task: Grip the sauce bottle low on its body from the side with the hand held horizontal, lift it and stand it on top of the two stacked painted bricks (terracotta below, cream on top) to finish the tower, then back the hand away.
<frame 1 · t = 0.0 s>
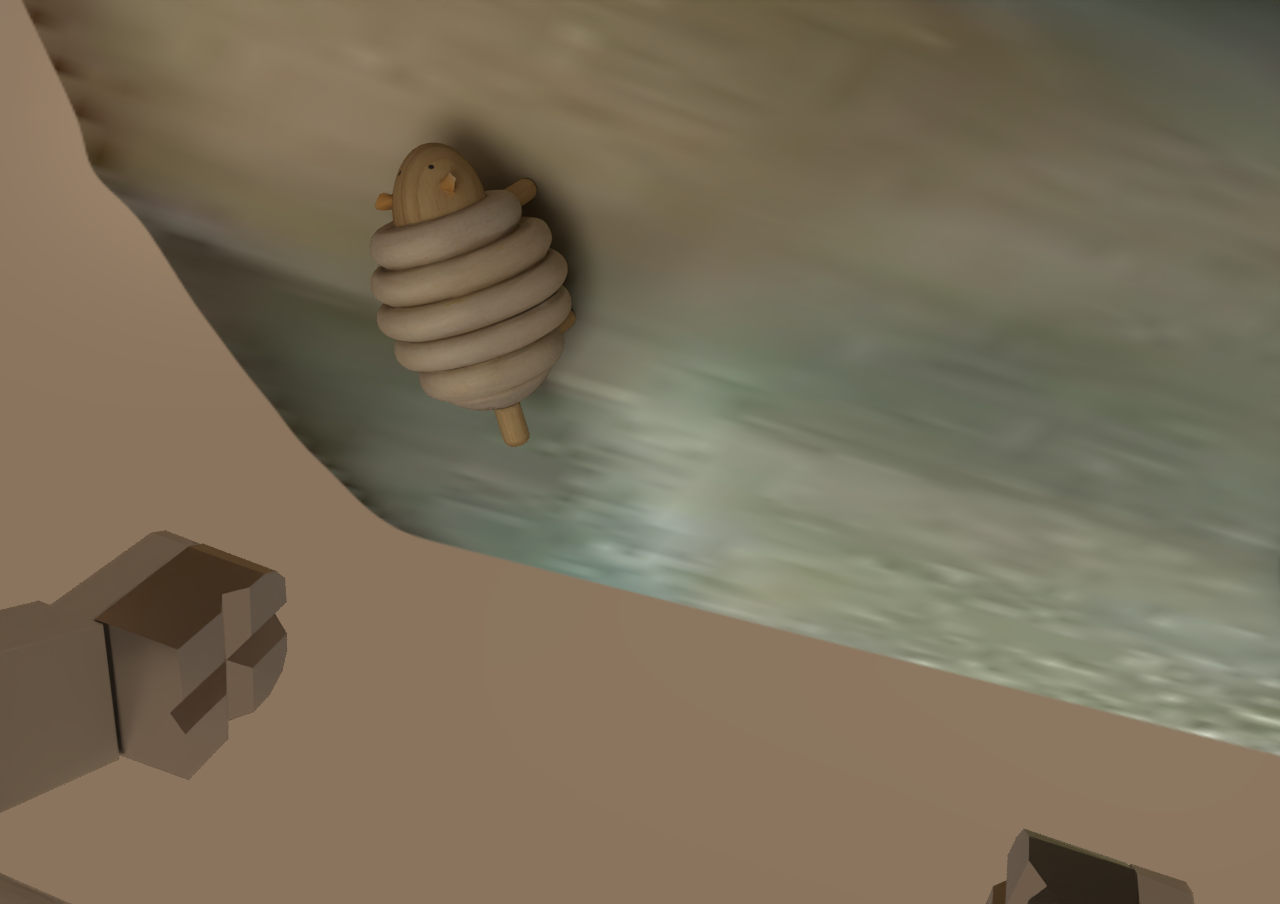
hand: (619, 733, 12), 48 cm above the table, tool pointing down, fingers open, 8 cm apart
toy sheep: (515, 266, 64), on the table
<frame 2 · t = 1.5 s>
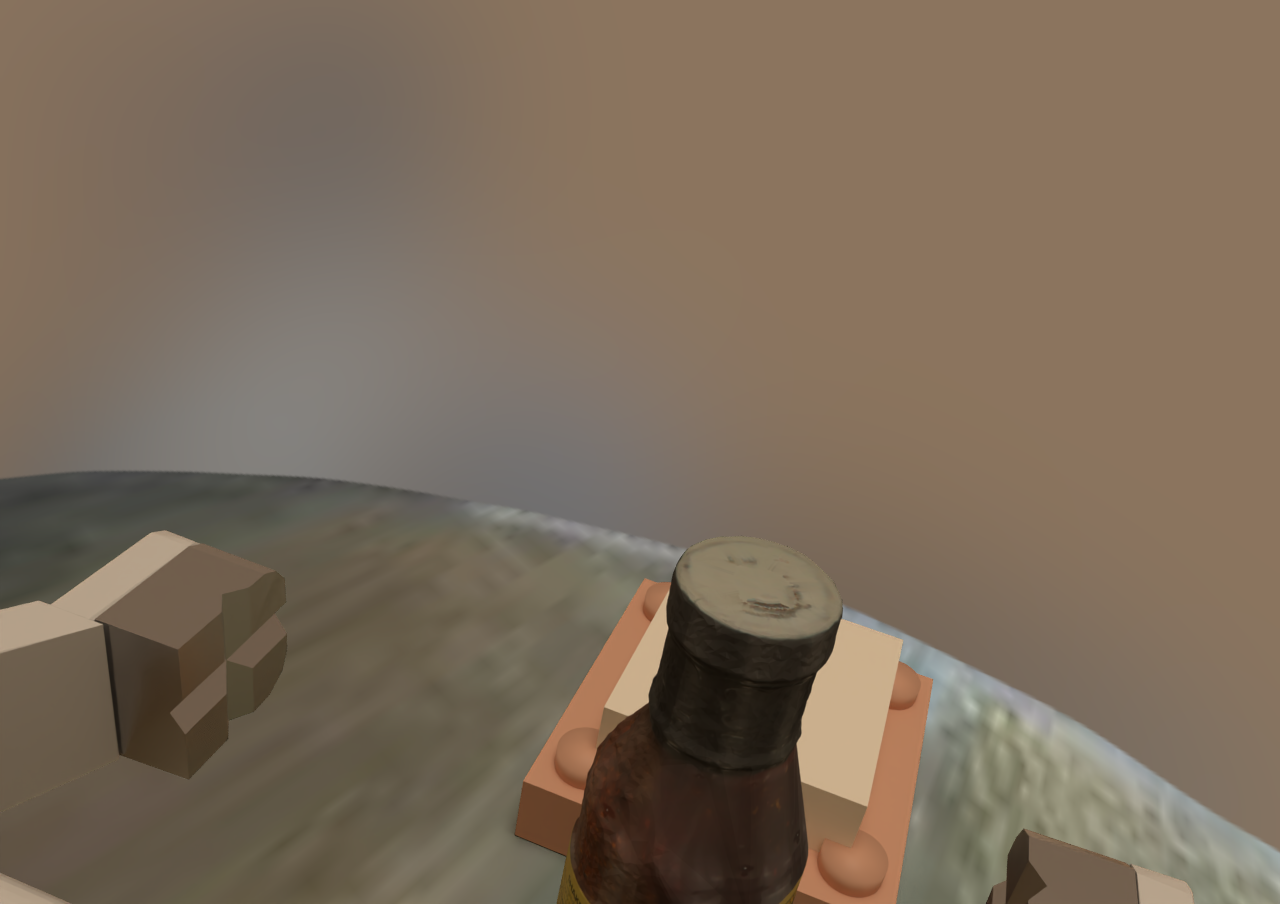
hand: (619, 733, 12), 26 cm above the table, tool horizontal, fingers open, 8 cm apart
brick stack: (733, 775, 47), on the table
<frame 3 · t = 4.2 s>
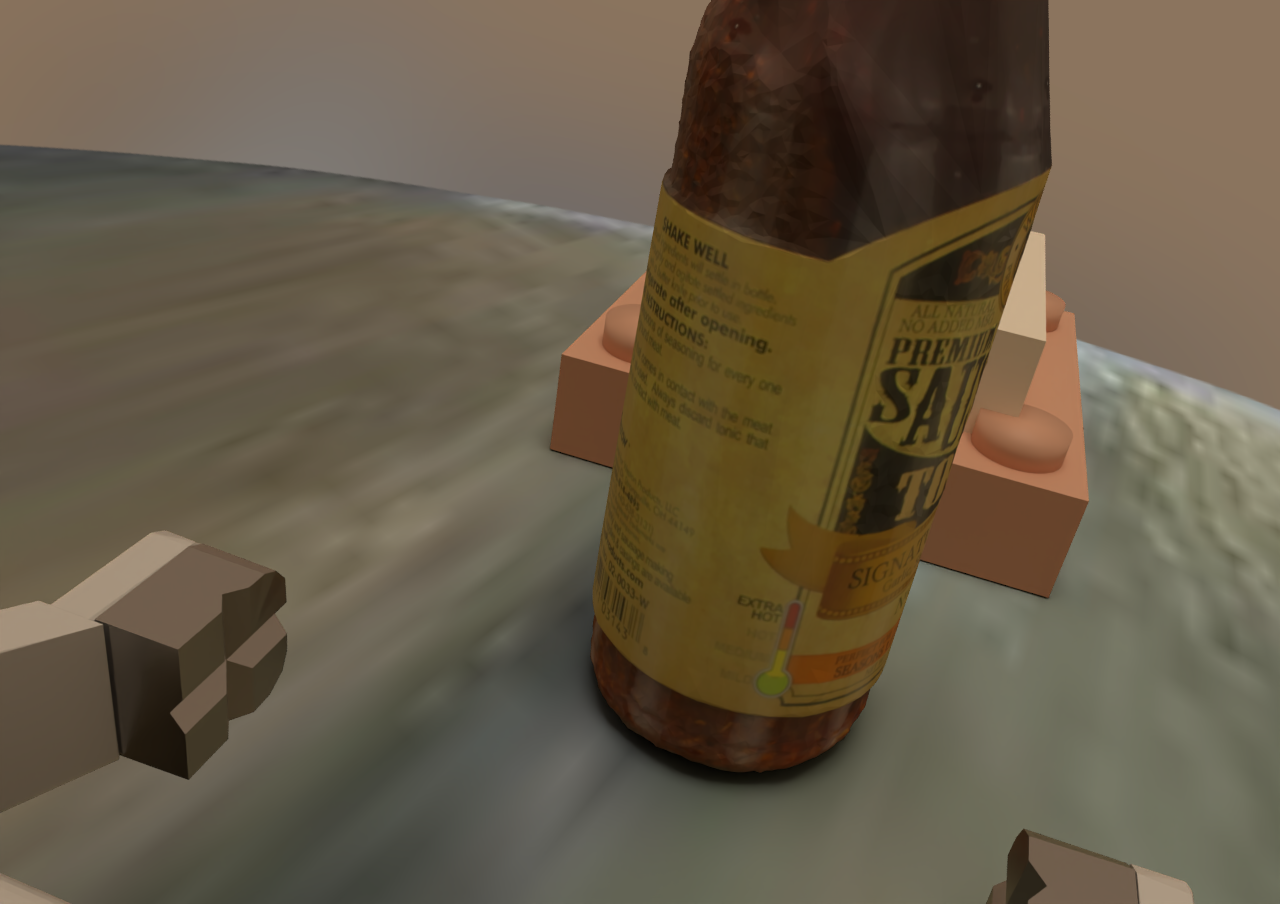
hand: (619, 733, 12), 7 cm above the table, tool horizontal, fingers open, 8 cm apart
sauce bottle: (723, 683, 24), on the table
brick stack: (829, 414, 36), on the table
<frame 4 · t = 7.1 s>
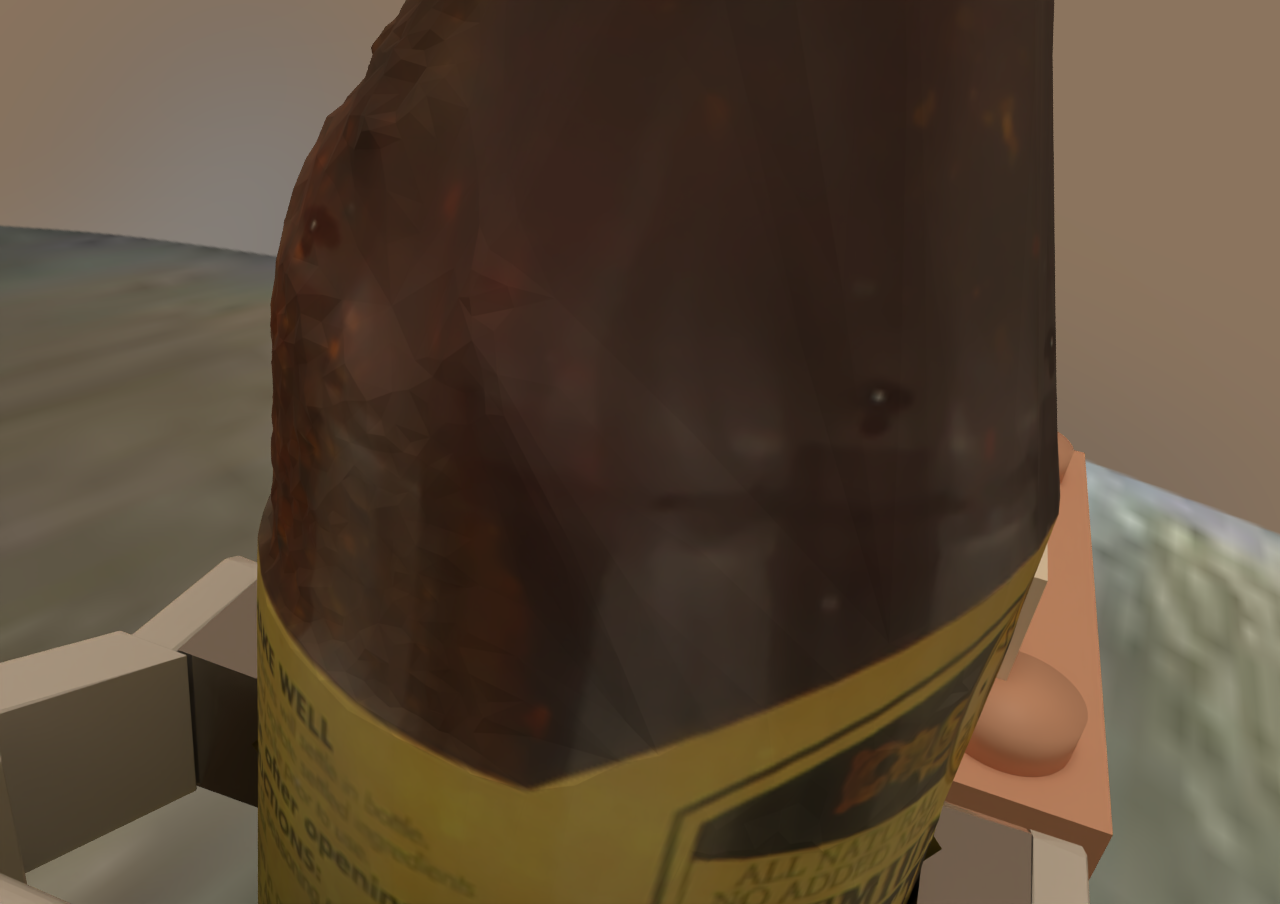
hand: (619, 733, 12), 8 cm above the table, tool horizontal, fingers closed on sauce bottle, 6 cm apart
brick stack: (753, 605, 26), on the table
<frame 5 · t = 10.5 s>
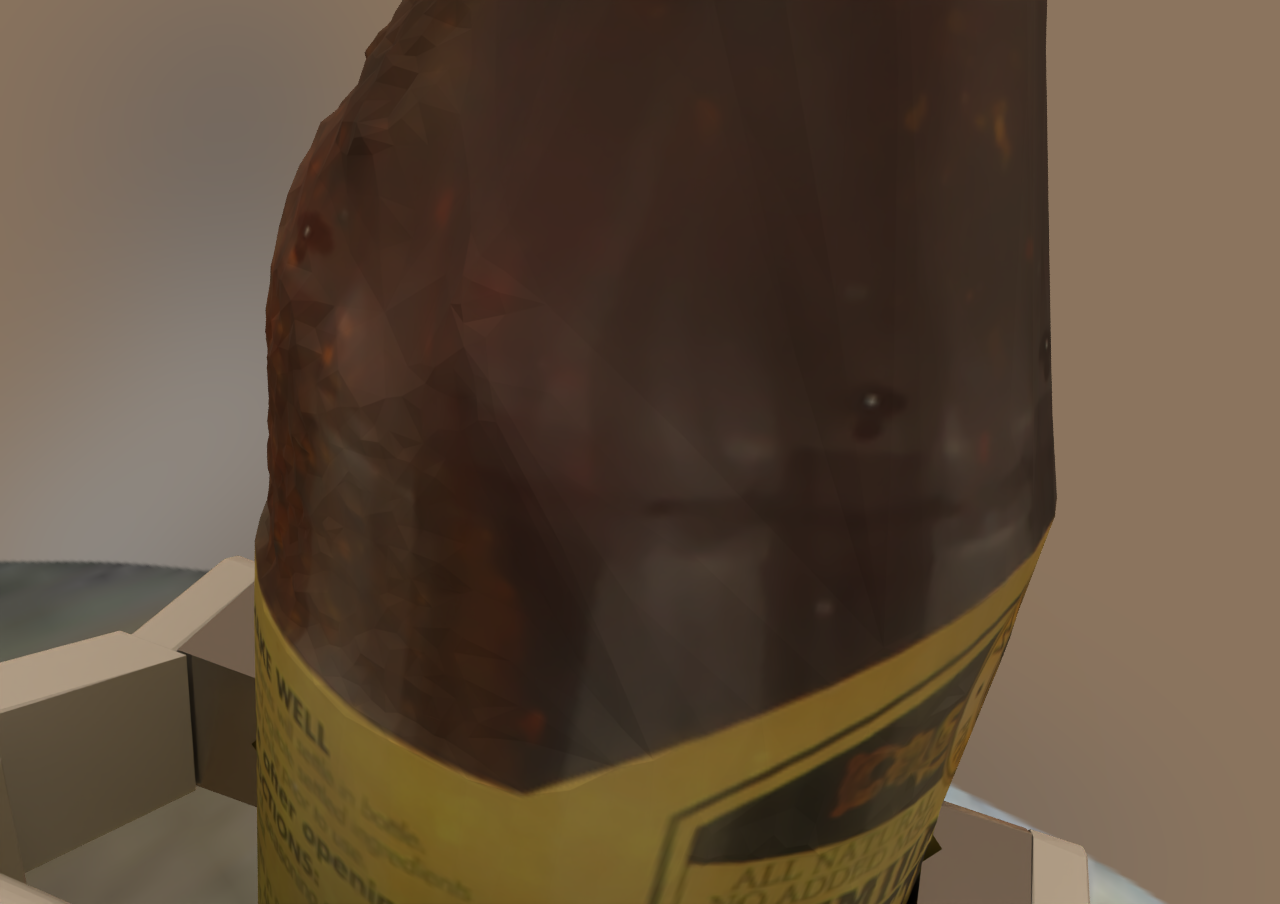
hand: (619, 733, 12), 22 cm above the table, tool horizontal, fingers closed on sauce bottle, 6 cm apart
when the fingers open (15 cm above the table, at t = 14.2 s): sauce bottle moves 1 cm, resting on brick stack.
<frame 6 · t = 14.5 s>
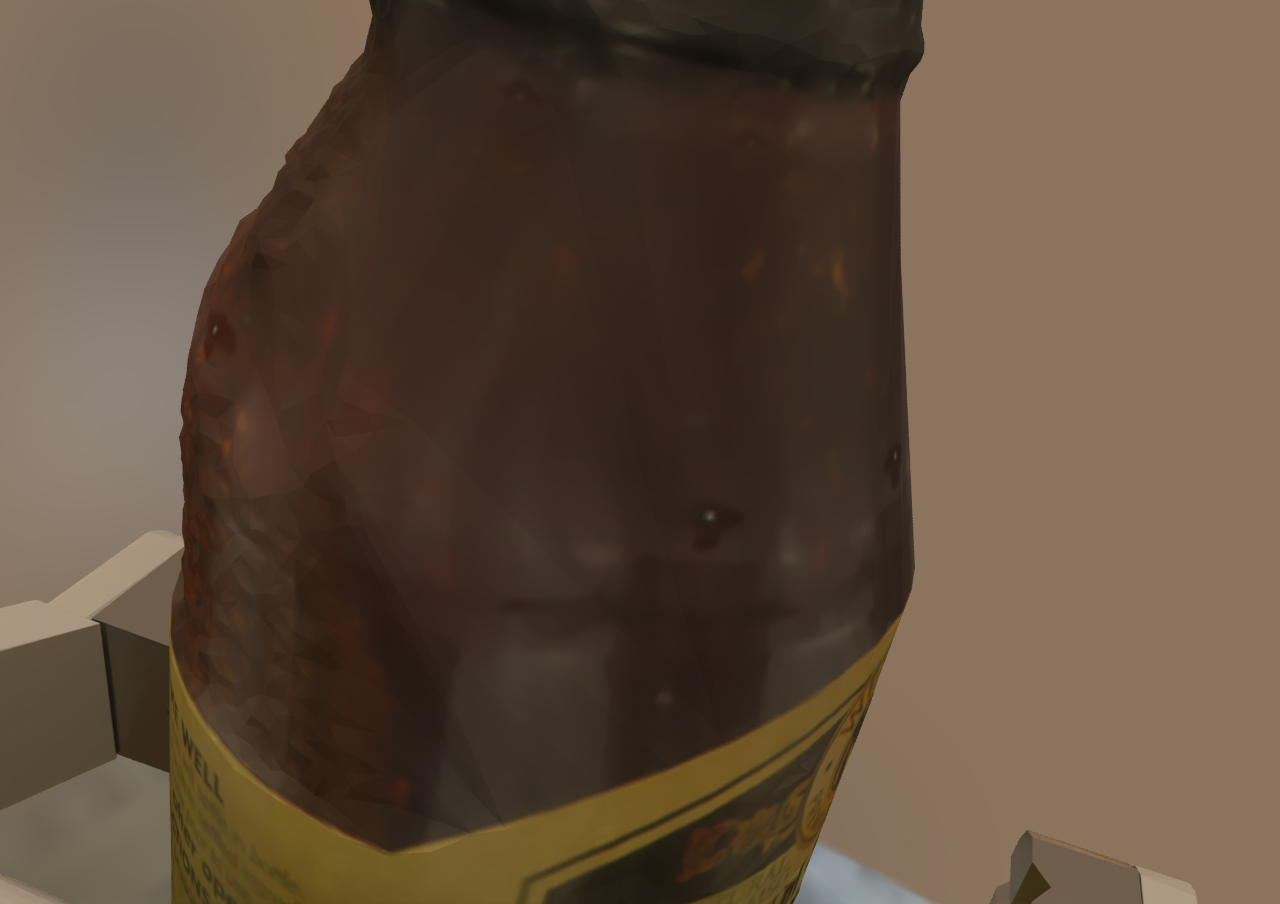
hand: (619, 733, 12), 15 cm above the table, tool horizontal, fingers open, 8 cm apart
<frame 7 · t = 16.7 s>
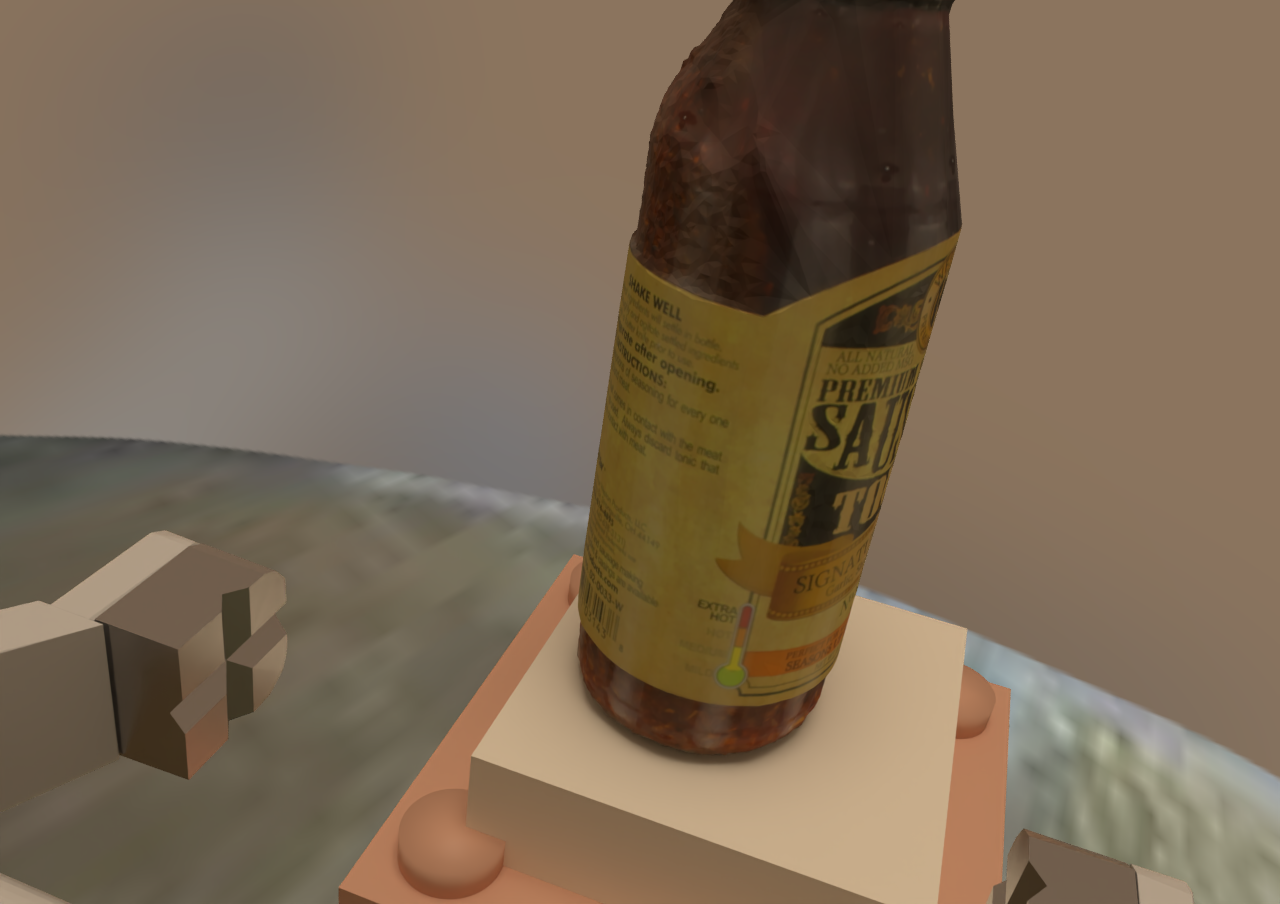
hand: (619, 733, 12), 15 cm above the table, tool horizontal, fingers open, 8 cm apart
sauce bottle: (697, 678, 27), point 6 cm above the table, touching brick stack
brick stack: (708, 851, 30), on the table
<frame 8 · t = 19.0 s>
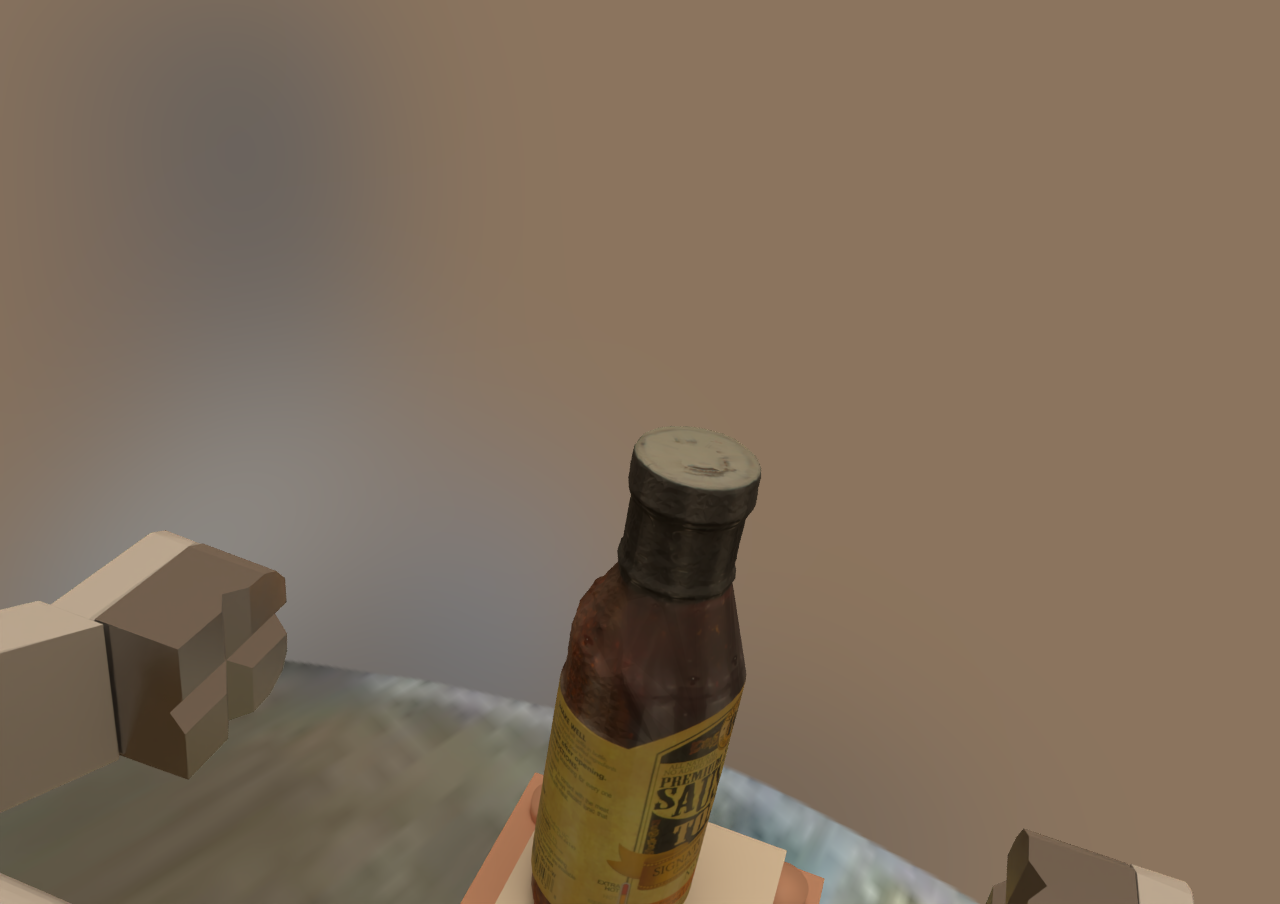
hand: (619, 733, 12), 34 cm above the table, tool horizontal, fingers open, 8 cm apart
sauce bottle: (606, 895, 43), point 6 cm above the table, touching brick stack
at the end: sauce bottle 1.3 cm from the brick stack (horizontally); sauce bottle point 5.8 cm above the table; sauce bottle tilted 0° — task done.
